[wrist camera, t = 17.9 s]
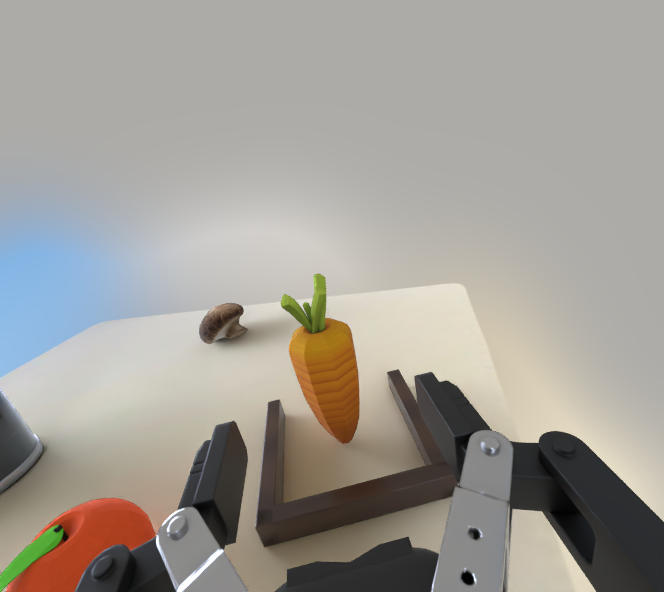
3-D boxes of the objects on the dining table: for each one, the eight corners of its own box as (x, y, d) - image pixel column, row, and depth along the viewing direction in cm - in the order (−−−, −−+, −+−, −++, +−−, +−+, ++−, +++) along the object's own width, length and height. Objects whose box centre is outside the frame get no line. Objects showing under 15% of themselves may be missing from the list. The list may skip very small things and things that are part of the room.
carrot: (329, 477, 25) (277, 303, 19) (311, 434, 29) (265, 282, 24) (385, 450, 26) (351, 279, 21) (360, 412, 30) (327, 263, 25)
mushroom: (260, 315, 49) (228, 288, 49) (223, 355, 46) (189, 327, 46) (254, 323, 57) (227, 299, 56) (222, 358, 54) (192, 334, 53)
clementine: (38, 757, 15) (-65, 685, 12) (13, 644, 19) (-67, 573, 16) (193, 578, 20) (146, 502, 18) (147, 522, 25) (103, 454, 22)
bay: (459, 495, 22) (457, 474, 21) (264, 547, 21) (255, 527, 20) (401, 385, 33) (398, 369, 32) (273, 417, 32) (267, 401, 32)
